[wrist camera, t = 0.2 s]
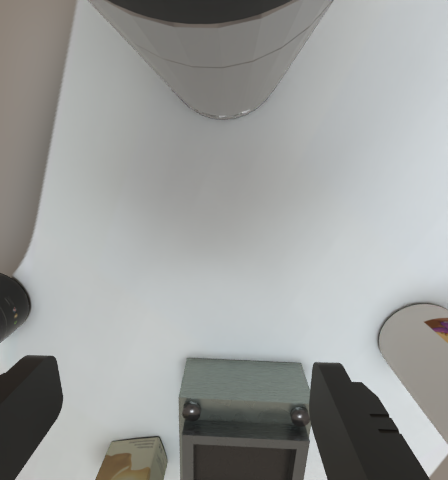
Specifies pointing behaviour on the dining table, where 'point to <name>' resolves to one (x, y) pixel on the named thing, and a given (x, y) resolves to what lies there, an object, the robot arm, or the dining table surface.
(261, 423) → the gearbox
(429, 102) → the dining table surface
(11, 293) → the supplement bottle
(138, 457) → the skincare box
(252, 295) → the dining table surface
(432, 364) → the milk bottle
